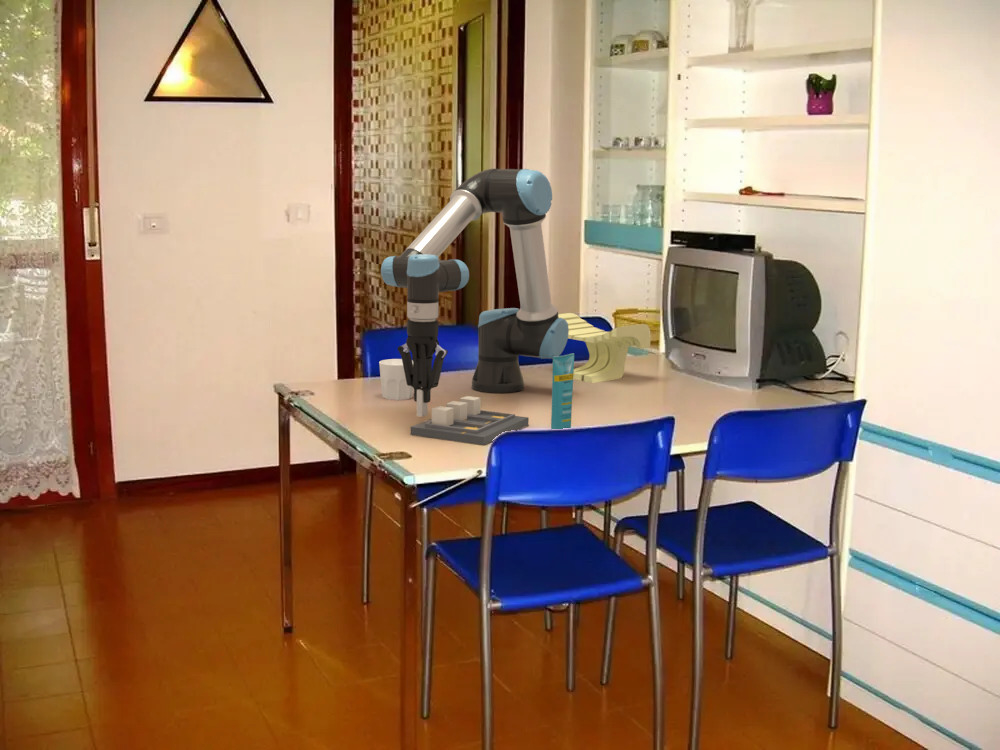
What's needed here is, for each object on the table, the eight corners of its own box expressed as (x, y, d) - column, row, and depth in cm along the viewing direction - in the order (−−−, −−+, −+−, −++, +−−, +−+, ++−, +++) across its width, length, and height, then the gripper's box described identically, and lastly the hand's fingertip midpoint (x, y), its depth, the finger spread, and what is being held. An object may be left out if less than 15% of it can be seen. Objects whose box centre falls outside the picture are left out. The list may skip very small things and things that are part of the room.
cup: (421, 398, 324) (421, 363, 323) (389, 402, 319) (389, 366, 317) (405, 392, 333) (405, 357, 331) (373, 395, 328) (373, 360, 326)
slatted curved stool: (648, 381, 356) (651, 322, 353) (614, 387, 345) (616, 327, 342) (575, 367, 378) (577, 312, 374) (541, 372, 367) (542, 316, 363)
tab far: (459, 414, 296) (459, 398, 295) (466, 411, 299) (466, 396, 298) (473, 415, 294) (473, 400, 293) (480, 413, 297) (480, 397, 297)
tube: (559, 435, 285) (561, 357, 281) (544, 432, 288) (546, 355, 284) (578, 430, 290) (580, 354, 287) (562, 427, 293) (564, 351, 290)
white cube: (431, 424, 284) (431, 408, 283) (439, 422, 287) (439, 406, 286) (446, 426, 282) (446, 410, 281) (453, 424, 285) (453, 407, 284)
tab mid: (445, 419, 290) (446, 403, 289) (453, 416, 293) (453, 400, 292) (460, 421, 288) (460, 405, 287) (467, 418, 291) (467, 402, 290)
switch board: (410, 434, 283) (410, 423, 282) (458, 416, 304) (458, 405, 304) (484, 445, 274) (484, 433, 274) (528, 425, 295) (528, 414, 295)
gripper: (391, 319, 282) (391, 415, 286) (438, 323, 276) (437, 421, 280) (407, 315, 288) (407, 409, 293) (454, 319, 282) (453, 415, 287)
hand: (422, 415), depth 286 cm, fingers closed
